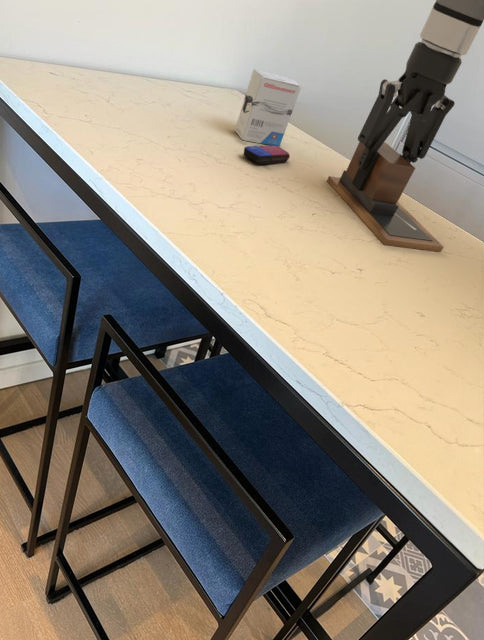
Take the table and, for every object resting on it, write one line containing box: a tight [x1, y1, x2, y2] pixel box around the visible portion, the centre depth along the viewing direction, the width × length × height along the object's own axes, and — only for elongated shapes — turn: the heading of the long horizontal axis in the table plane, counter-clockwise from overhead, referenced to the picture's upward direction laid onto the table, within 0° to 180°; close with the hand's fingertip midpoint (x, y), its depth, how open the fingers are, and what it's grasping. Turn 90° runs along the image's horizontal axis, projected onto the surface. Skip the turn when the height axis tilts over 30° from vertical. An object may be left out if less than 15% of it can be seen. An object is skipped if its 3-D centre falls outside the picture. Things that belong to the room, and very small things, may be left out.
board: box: [326, 175, 445, 253], centre depth 101 cm, size 22×12×1 cm, turn 17°
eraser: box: [243, 145, 291, 165], centre depth 104 cm, size 11×4×2 cm, turn 136°
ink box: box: [234, 68, 302, 147], centre depth 109 cm, size 8×5×12 cm, turn 108°
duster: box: [339, 141, 416, 216], centre depth 99 cm, size 12×5×8 cm, turn 17°
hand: (371, 189), depth 100 cm, fingers closed on duster, 5 cm apart
